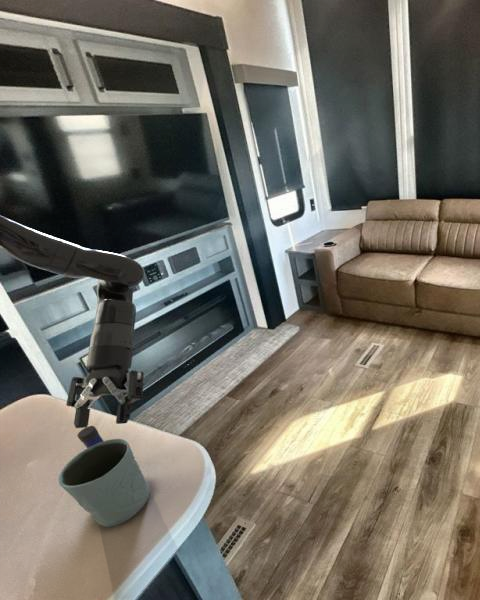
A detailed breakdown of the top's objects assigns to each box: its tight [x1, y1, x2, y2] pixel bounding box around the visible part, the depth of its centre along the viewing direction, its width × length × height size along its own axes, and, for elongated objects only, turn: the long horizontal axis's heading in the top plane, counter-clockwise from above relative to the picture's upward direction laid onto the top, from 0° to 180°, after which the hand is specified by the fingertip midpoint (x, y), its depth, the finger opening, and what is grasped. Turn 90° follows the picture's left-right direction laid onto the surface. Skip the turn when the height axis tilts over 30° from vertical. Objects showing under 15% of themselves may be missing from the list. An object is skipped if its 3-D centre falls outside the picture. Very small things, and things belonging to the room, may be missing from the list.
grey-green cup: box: [57, 438, 151, 528], centre depth 66 cm, size 10×10×12 cm
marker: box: [76, 425, 105, 449], centre depth 73 cm, size 3×3×12 cm
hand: (101, 425), depth 74 cm, fingers open, 8 cm apart
